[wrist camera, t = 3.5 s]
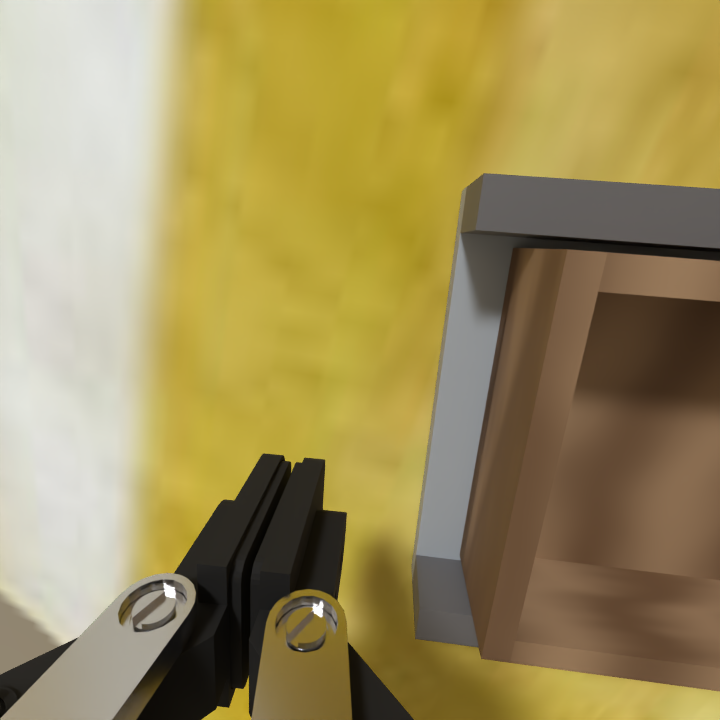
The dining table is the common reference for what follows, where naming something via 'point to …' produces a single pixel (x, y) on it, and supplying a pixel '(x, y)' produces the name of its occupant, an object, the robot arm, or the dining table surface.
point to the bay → (480, 331)
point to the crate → (601, 470)
